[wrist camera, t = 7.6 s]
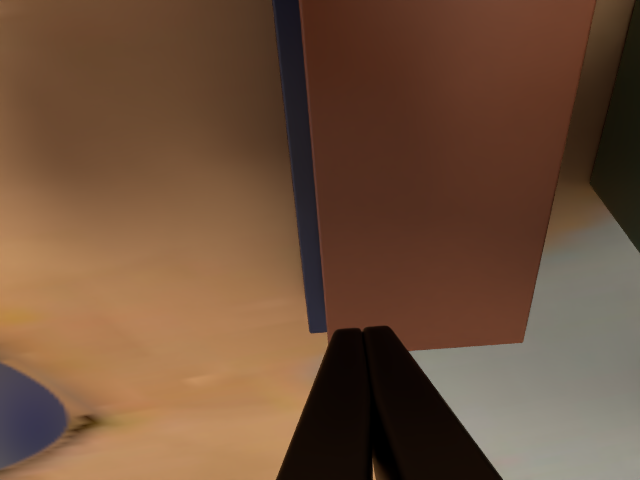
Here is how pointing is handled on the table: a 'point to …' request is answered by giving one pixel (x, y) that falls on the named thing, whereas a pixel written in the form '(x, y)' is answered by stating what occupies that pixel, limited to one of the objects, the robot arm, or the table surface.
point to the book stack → (427, 158)
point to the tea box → (623, 141)
